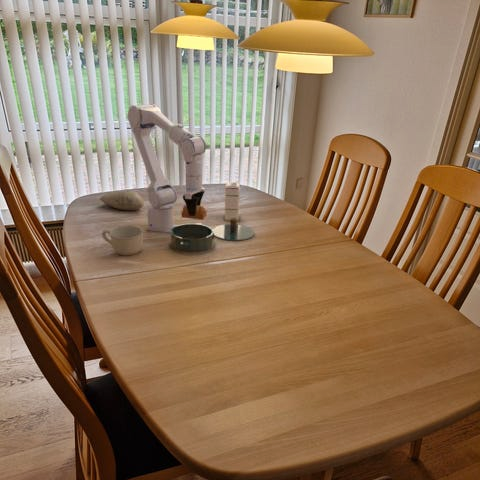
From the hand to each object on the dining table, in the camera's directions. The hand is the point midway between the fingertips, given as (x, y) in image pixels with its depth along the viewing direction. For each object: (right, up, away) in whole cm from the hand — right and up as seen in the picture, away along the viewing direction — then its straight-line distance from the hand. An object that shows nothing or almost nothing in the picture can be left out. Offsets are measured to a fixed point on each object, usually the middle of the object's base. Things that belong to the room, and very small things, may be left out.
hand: (193, 213), depth 158 cm
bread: (0, -1, +1) cm, 1 cm away
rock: (-33, +10, +32) cm, 47 cm away
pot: (-1, -11, +1) cm, 12 cm away
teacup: (-24, -15, -6) cm, 29 cm away
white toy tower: (+13, +4, +27) cm, 30 cm away
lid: (+14, -5, +12) cm, 19 cm away
